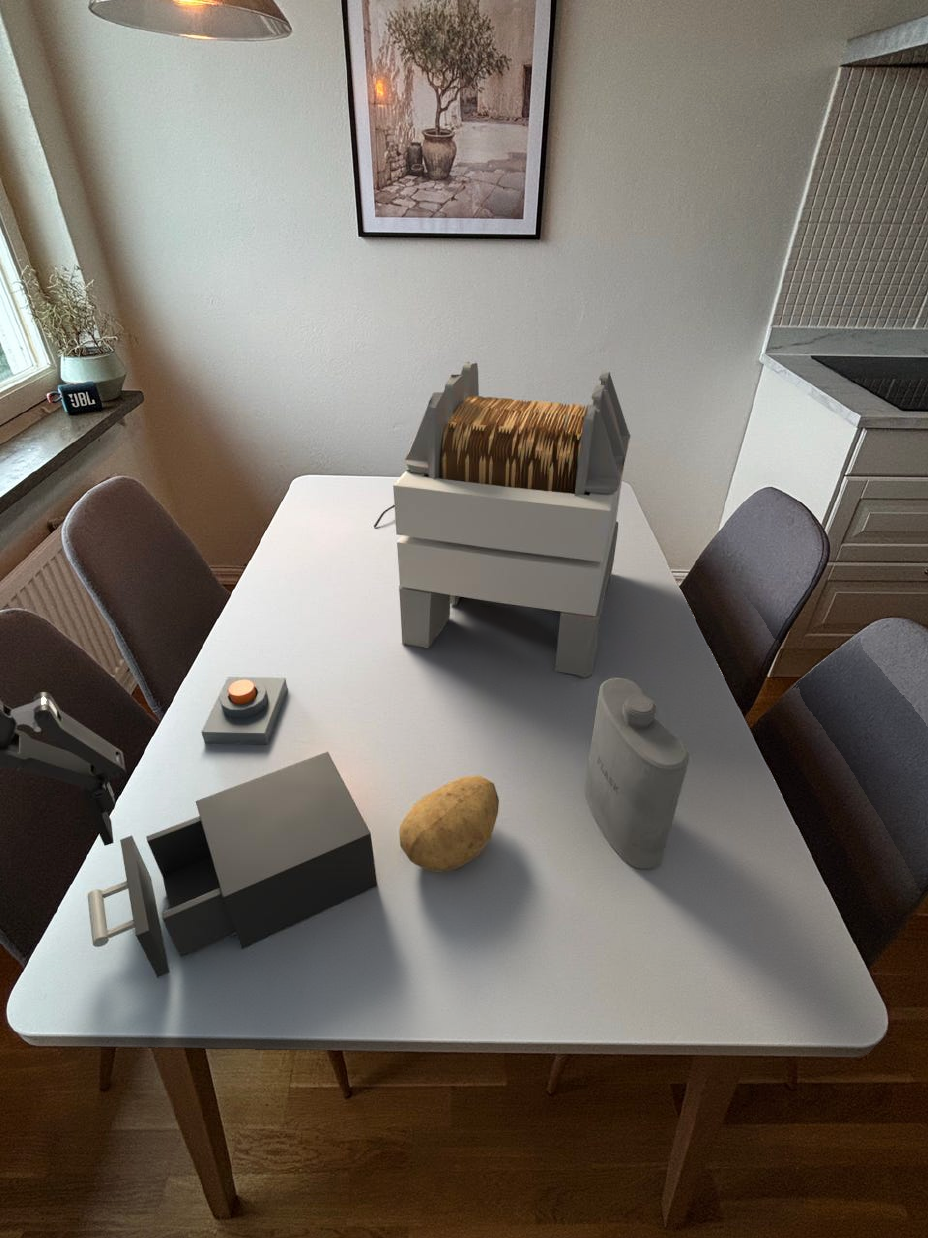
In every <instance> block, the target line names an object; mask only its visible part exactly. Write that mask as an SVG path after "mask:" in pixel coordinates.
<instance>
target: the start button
mask: <svg viewBox="0 0 928 1238" xmlns="http://www.w3.org/2000/svg"><path fill="white" fill-rule="evenodd" d="M229 695H230V698H231V701H232V702H233V703H235V704H245V703H248V702H251V701H252V700H253V699H254V698H255V697H256V691H255V687H254V684H253V682H252V681H250V680H239V681H236V682H234V683H233V684H231V685H230V687H229Z"/></svg>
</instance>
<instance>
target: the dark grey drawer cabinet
mask: <svg viewBox="0 0 928 1238" xmlns="http://www.w3.org/2000/svg"><path fill="white" fill-rule="evenodd" d="M195 804H196V809H197V811H198V816H200V819H201V822H202V826H203V829H204V833H205V836H206V840H207V843H208V847H209V850H210V854H211V857H212V861H213V864H214V868H215V871H216V875H217V878H218V881H219V885H220V888H221V892H222V895H223V899H224V901H225V904H226V907H227V910H228V913H229V915H230V918H231V921H232V924H233V927H234V929H235V932H236V934H235V935H236V937H237V940H238V944H239V946H240V949H241V950H245V949H246V948H249V947H250V946H253V945H255V944H257V943H259V942H261V941H263V940H265V939H267V938H269V937H272V936H274V935H277V934H278V933H281V932H283V931H284V930H287V929H289V928H291V927H293V926H295V925H298V924H300V923H302V922H304V921H306V920H309V919H310V918H312V917H314V916H316V915H318V914H321V913H323V912H325V911H327V910H330V909H332V908H333V907H336V906H338V905H340V904H343V903H344V902H346V901H348V900H351V899H353V898H355V897H357V896H359V895H362V894H363V893H366V892H368V891H370V890H373V889H374V888H376V887H378V880H377V870H376V864H375V863H376V862H375V855H374V848H373V841H372V833H371V831H370V829H369V827H368V825H367V823H366V821H365V820H364V817H363V816H362V814H361V812H360V810H359V808H358V806H357V804H356V802H355V800H354V799H353V796H352V795H351V793H350V791H349V789H348V788H347V785H346V783H345V782H344V779H343V778H342V776H341V774H340V772H339V770H338V768H337V766H336V764H335V763H334V760H333V759H332V756H331V755H330V753H329V751H326V752H323V753H320V754H318V755H315V756H312V757H309V758H308V759H305V760H302V761H299V762H296V763H294V764H291V765H288V766H286V767H285V766H284V767H283V768H281V769H278V770H275V771H273V772H269V773H267V774H264V775H262V776H259V777H257V778H253V779H251V780H248V781H245V782H243V783H240V784H237V785H235V786H233V787H229V788H227V789H224V790H222V791H219V792H216V793H214V794H213V793H212V794H210V795H209V796H204V797H202V798H200V799H197V800H195Z"/></svg>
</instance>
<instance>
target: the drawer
mask: <svg viewBox="0 0 928 1238" xmlns="http://www.w3.org/2000/svg"><path fill="white" fill-rule="evenodd" d="M134 839H135V838H134V836H133V835H132V834H131V835H128V836H126V837H124V838H121V839H120V840H119V842H120V847H121V854H122V859H123V865H124V872H125V879H126V880H124V881H122V882H120V883H118V884H115V885H113V886H110V887H107V888H106V889H99V888H95V889H92V890H90V891H89V892H88V893H87V903H88V904H87V906H88V913H89V923H90V933H91V941H92V946H93V947H96V948H100V947H103V946H105V945H107V944H108V942H109V939H111V938H113V937H116V936H118V935H121V934H123V933H125V932H127V931H128V932H129V930H133V929H134V934H135V937H136V939H137V941H138V943H139V945H140V947H141V949H142V951H143V953H144V955H145V957H146V959H147V961H148V962H149V965H150V967H151V969H152V970H153V972H154V975H155V976H156V978H161V977H162V976H165V975H167V974H169V973H170V971H171V970H170V966H169V962H168V957H167V952H166V947H165V942H164V937H163V936H164V935H163V932H162V925H161V922H160V921H161V920H160V916H159V912H158V906H157V901H156V896H155V891H154V886H153V880H152V876H151V875H150V873H149V870H148V868H147V865H146V863H145V861H144V859H143V857H142V854H141V852H140V850H139V848H138V846H137V843H136V841H135V840H134ZM146 842H147V844H148V847H149V849H150V851H151V854H152V856H153V858H154V860H155V863H156V865H157V868H158V870H159V872H160V875H161V876H162V880H163V885H164V890H165V895H166V900H167V904H168V908H169V909H167V910H165V911H162V912H161V918H162V921H163V923H164V925H165V927H166V930H167V931H168V934H169V935H170V938H171V940H172V942H173V945H174V947H175V948H176V951H177V953H178V955H179V957H180V959H183V958H186V957H188V956H189V955H192V954H195V953H196V952H199V951H200V950H203V949H205V948H208V947H210V946H212V945H214V944H216V943H218V942H220V941H222V940H225V939H227V938H229V937H231V936H233V935H236V932H235V929H234V927H233V924H232V921H231V918H230V915H229V913H228V910H227V907H226V904H225V901H224V899H223V895H222V892H221V888H220V885H219V881H218V878H217V875H216V871H215V868H214V864H213V861H212V857H211V854H210V850H209V847H208V843H207V840H206V836H205V833H204V829H203V826H202V822H201V819H200V815H198V816H195V817H193V818H190V819H188V820H186V821H183V822H180V823H178V824H175V825H172V826H170V827H167V828H165V829H164V828H163V829H161V830H159V831H157V832H153V833H152V834H149V835H146ZM126 890H128V891H127V892H128V897H129V902H130V908H131V914H132V919H131V920H129V921H126V922H124V923H121V924H119V925H116V926H115V927H112V928H110V929H108V924H107V922H108V921H107V917H106V915H107V914H106V907H105V901H104V899H106V898H109V897H111V896H113V895H115V894H118V893H120V892H124V891H126Z"/></svg>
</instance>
